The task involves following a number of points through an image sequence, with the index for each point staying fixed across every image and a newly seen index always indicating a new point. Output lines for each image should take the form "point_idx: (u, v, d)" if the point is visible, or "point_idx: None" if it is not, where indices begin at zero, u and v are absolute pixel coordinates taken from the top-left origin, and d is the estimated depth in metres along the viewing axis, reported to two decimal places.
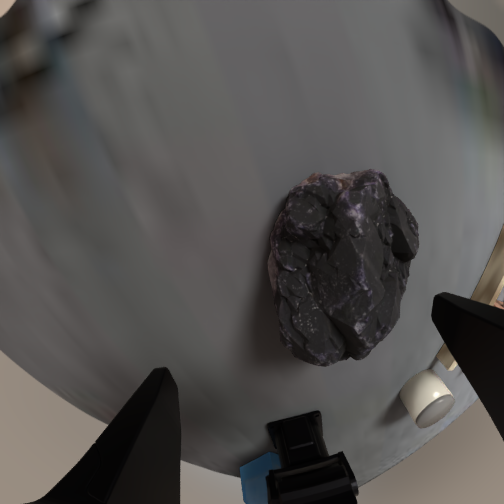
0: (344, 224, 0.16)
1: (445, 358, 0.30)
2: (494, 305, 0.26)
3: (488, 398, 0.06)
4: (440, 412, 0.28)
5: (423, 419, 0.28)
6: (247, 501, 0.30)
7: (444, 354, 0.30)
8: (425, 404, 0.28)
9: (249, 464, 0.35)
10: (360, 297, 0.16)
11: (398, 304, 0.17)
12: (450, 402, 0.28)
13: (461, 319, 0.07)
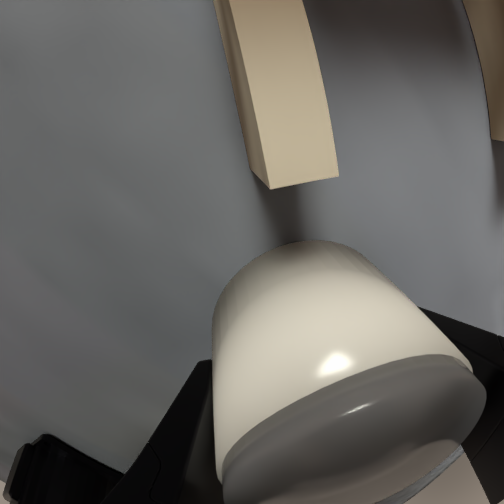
0: None
1: (250, 140, 0.06)
2: None
3: None
4: (399, 463, 0.04)
5: None
6: None
7: (245, 129, 0.06)
8: (217, 453, 0.05)
9: None
10: None
11: None
12: (434, 409, 0.04)
13: None
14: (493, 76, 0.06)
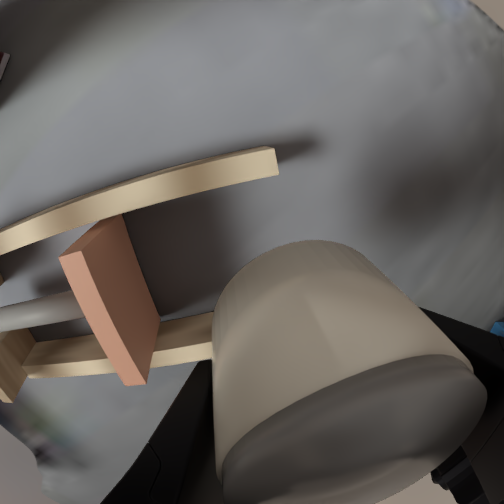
0: None
1: None
2: None
3: None
4: (400, 463, 0.04)
5: None
6: None
7: None
8: (217, 453, 0.05)
9: None
10: None
11: None
12: (434, 409, 0.04)
13: None
14: None
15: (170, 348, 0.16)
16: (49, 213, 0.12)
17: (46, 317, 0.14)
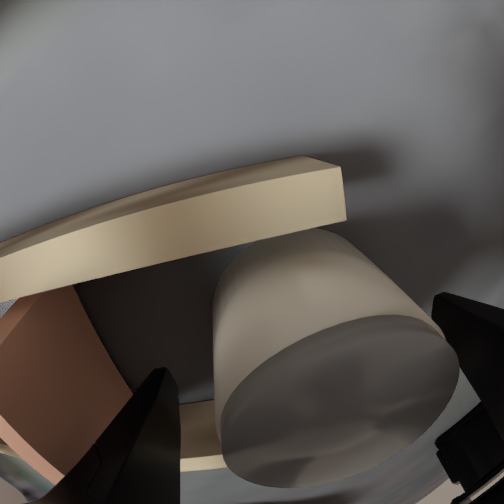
0: None
1: None
2: None
3: (488, 398, 0.06)
4: (381, 422, 0.06)
5: (269, 471, 0.06)
6: None
7: None
8: (216, 408, 0.06)
9: None
10: None
11: None
12: (404, 362, 0.05)
13: (461, 319, 0.07)
14: None
15: None
16: None
17: None
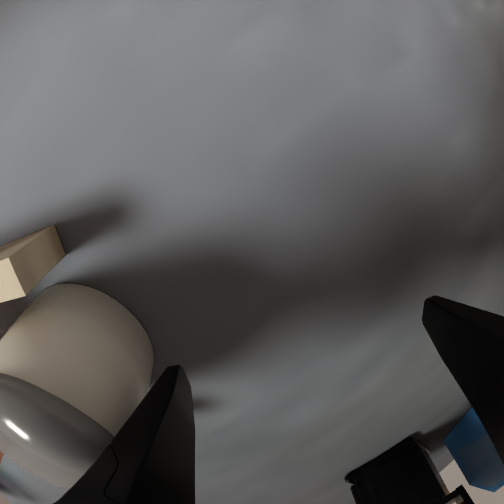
0: None
1: None
2: None
3: (479, 404, 0.06)
4: (54, 454, 0.06)
5: (19, 460, 0.06)
6: None
7: None
8: None
9: None
10: None
11: None
12: (19, 414, 0.05)
13: (451, 324, 0.07)
14: None
15: None
16: None
17: None
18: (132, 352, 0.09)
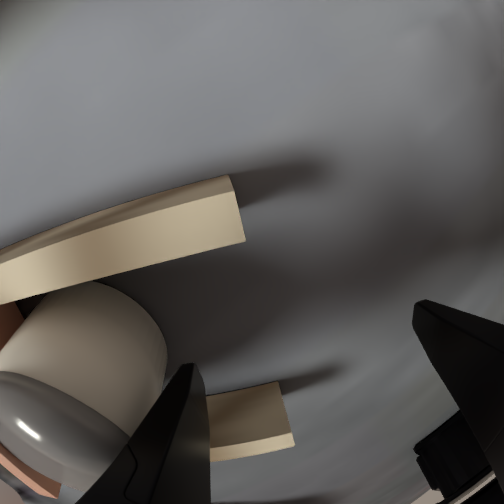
0: None
1: None
2: None
3: (469, 411, 0.06)
4: (65, 455, 0.06)
5: (28, 461, 0.06)
6: None
7: None
8: None
9: None
10: None
11: None
12: (31, 414, 0.05)
13: (441, 328, 0.07)
14: None
15: None
16: None
17: None
18: (147, 350, 0.09)
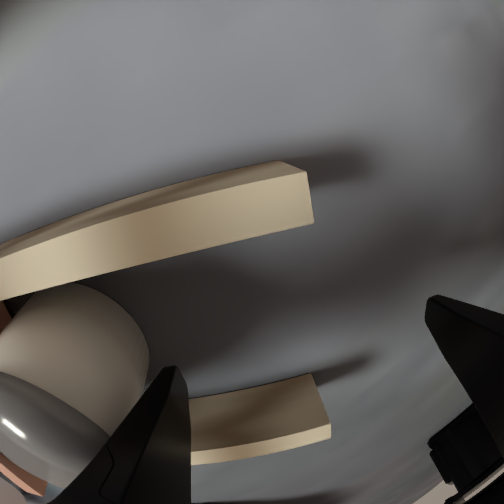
0: None
1: None
2: None
3: (481, 402, 0.06)
4: (49, 453, 0.06)
5: (14, 458, 0.06)
6: None
7: None
8: None
9: None
10: None
11: None
12: (15, 411, 0.05)
13: (454, 322, 0.07)
14: None
15: None
16: None
17: None
18: (128, 352, 0.09)
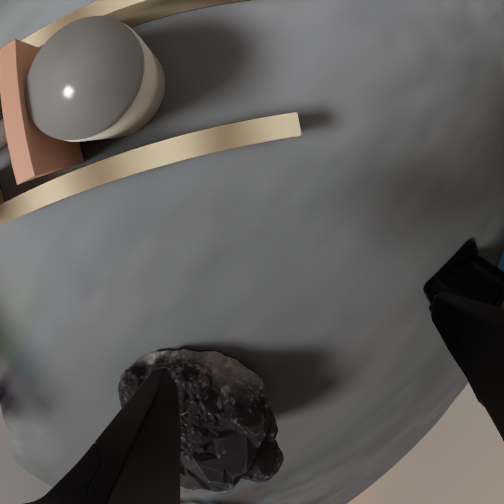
0: None
1: None
2: (48, 172, 0.13)
3: (488, 398, 0.06)
4: (90, 66, 0.09)
5: (42, 109, 0.10)
6: None
7: None
8: None
9: None
10: None
11: (188, 462, 0.16)
12: (93, 28, 0.09)
13: (461, 319, 0.07)
14: (217, 1, 0.13)
15: None
16: (56, 21, 0.10)
17: None
18: (157, 61, 0.13)
